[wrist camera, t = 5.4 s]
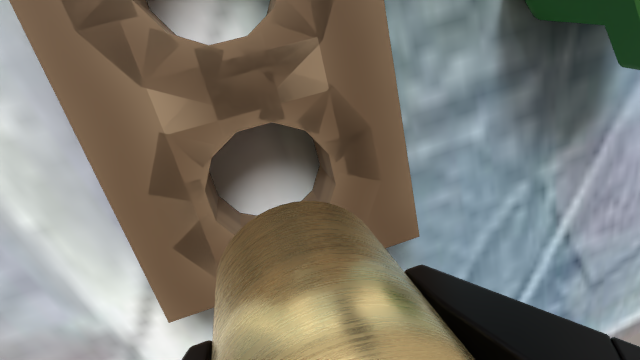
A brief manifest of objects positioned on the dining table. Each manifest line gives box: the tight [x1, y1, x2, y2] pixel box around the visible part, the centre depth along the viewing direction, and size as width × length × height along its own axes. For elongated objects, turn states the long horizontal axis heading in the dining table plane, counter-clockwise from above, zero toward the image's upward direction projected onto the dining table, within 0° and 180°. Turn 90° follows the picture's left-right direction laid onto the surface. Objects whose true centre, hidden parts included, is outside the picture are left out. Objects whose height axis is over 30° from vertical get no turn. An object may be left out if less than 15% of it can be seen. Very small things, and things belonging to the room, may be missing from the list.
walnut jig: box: [9, 0, 419, 323], centre depth 15 cm, size 12×18×3 cm
